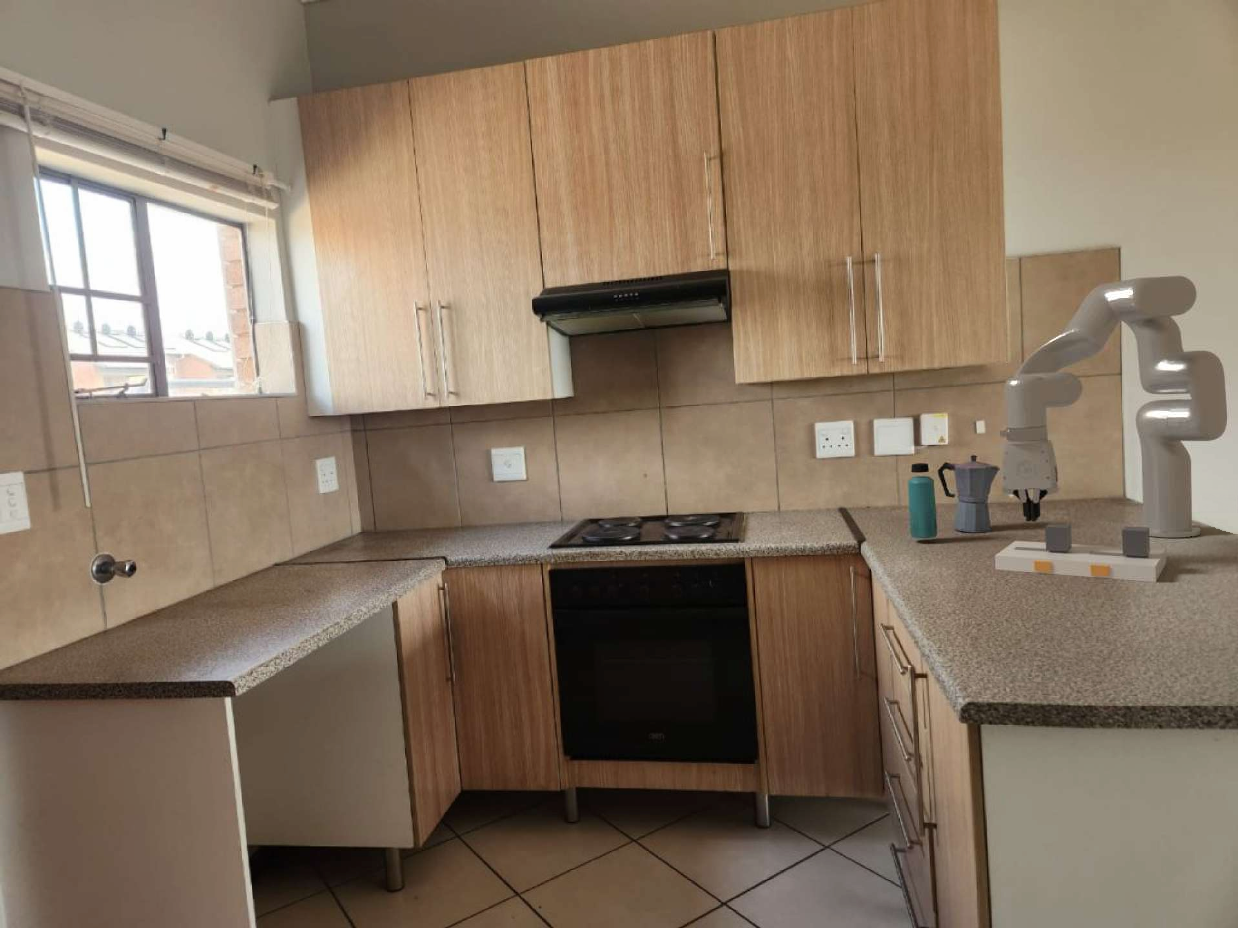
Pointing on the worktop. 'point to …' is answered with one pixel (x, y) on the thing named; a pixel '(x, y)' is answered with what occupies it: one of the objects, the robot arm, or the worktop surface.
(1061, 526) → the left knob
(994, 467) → the moka pot
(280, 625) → the worktop surface
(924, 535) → the beverage bottle
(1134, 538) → the right knob
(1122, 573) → the switch panel
